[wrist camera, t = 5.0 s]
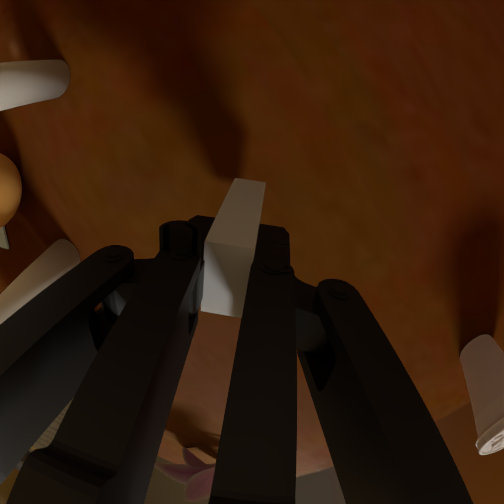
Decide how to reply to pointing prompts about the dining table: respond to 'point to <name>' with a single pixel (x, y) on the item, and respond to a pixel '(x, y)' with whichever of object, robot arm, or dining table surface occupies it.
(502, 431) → the smoothie
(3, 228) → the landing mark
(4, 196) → the ball
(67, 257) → the post
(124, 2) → the dining table surface
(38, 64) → the post
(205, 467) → the lily
